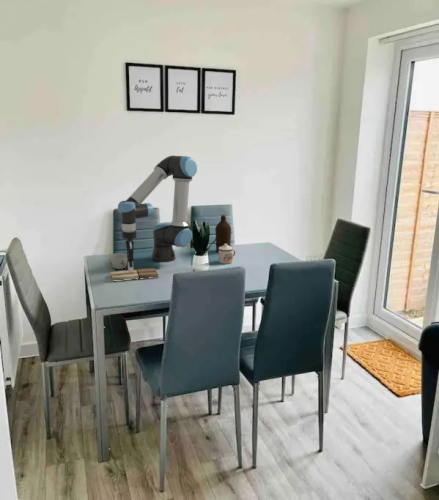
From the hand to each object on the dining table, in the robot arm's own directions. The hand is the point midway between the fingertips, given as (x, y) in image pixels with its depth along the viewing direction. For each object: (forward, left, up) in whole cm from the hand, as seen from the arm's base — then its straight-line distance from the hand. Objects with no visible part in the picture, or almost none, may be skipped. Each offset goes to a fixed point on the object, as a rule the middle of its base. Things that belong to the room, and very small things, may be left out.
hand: (130, 272), depth 246 cm
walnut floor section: (0, +9, -3) cm, 10 cm away
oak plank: (0, -4, -3) cm, 5 cm away
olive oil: (-37, +66, -3) cm, 76 cm away
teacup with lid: (-13, +61, -3) cm, 63 cm away
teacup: (-19, -5, -3) cm, 20 cm away
